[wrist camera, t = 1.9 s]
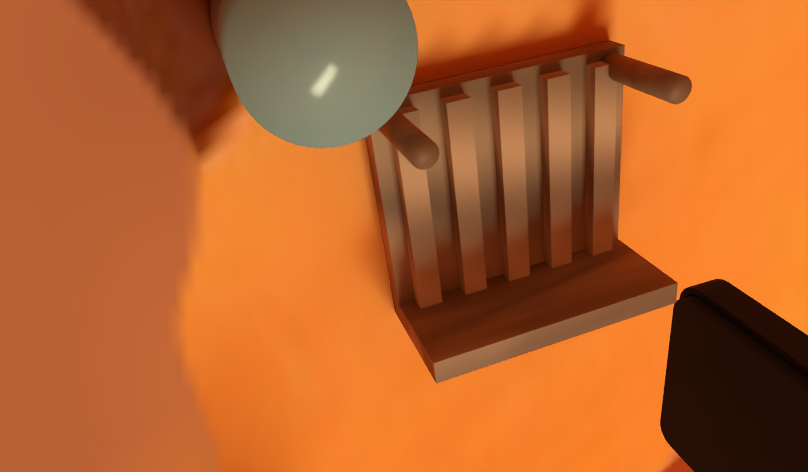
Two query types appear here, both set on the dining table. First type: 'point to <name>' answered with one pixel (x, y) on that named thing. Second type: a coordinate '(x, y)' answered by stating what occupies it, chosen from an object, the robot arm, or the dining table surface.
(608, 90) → the rack
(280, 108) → the grey green cylinder
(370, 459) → the dining table surface
